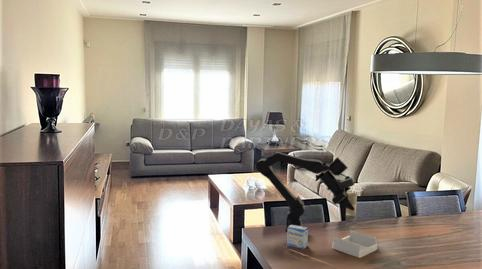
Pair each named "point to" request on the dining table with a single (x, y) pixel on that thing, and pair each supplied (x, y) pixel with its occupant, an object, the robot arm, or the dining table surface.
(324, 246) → the dining table surface
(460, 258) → the dining table surface
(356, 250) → the white open box
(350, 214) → the birch block
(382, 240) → the dining table surface
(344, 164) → the robot arm
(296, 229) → the medicine box
